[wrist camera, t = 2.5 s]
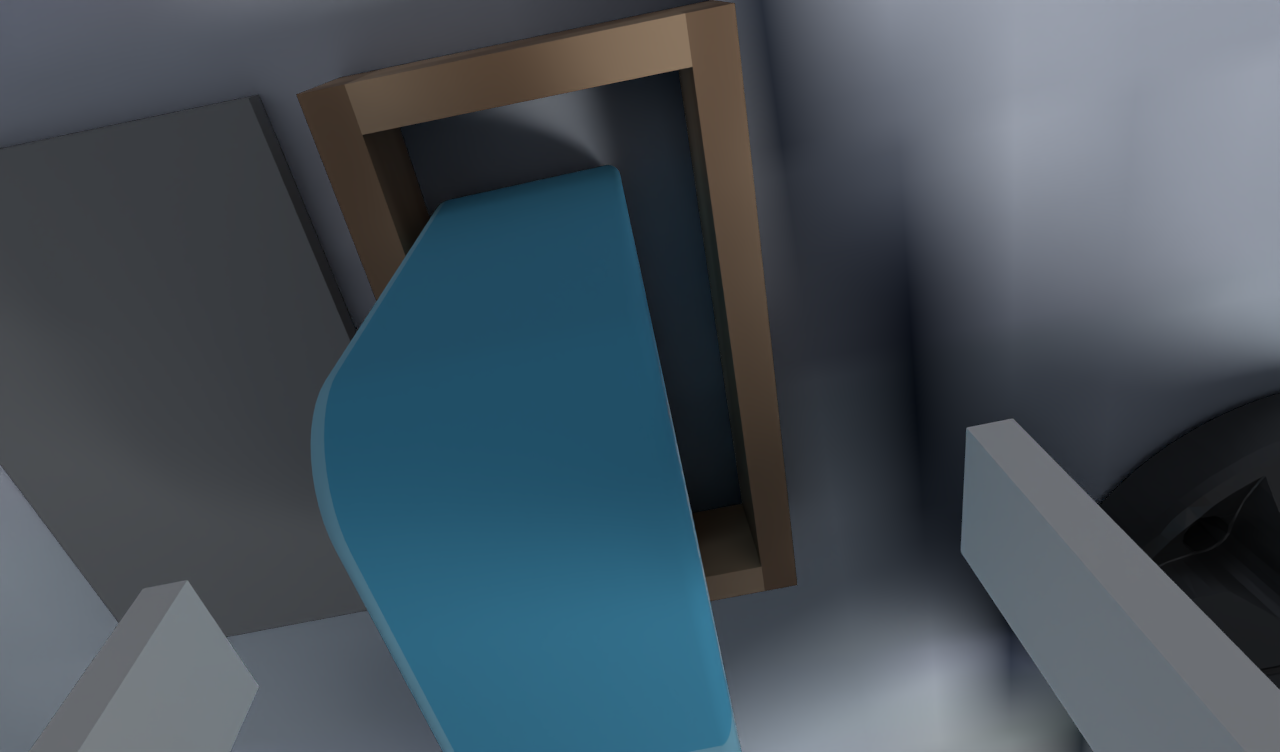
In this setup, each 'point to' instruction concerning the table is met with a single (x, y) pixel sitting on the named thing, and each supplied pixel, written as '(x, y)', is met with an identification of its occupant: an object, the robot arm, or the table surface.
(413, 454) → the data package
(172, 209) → the charcoal mat
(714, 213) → the walnut box
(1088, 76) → the table surface
